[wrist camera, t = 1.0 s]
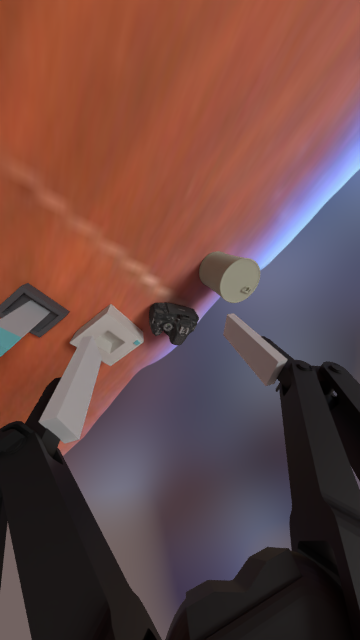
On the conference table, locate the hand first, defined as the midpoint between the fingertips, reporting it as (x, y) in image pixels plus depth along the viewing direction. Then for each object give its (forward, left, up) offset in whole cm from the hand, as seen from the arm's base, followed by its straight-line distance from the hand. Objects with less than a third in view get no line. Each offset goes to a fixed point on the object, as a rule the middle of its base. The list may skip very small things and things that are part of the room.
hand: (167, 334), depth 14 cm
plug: (-9, -26, -24) cm, 37 cm away
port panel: (+6, -19, -25) cm, 31 cm away
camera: (+13, -2, -25) cm, 28 cm away
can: (+10, +14, -25) cm, 30 cm away
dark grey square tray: (-9, -26, -25) cm, 37 cm away
